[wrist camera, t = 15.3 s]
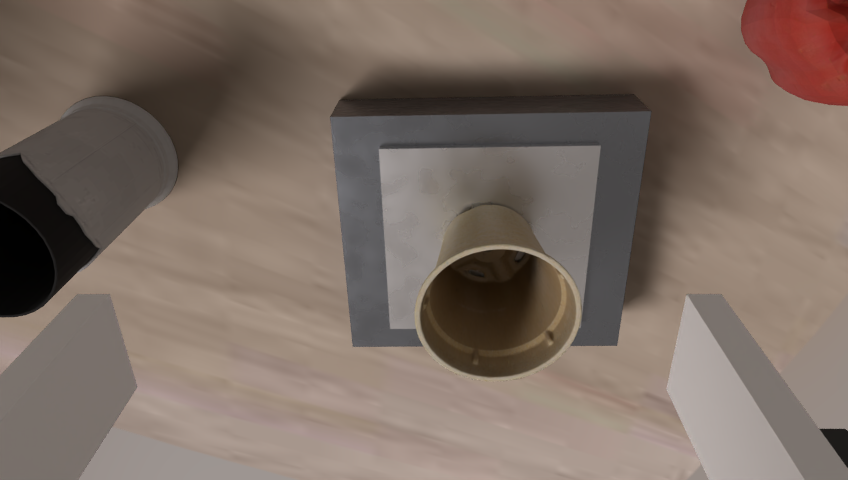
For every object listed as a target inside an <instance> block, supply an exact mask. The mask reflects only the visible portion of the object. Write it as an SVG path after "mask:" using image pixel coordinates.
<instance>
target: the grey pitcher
mask: <svg viewBox="0 0 848 480" xmlns="http://www.w3.org/2000/svg"><path fill="white" fill-rule="evenodd" d="M177 173H178V159H177V154H176V150H175V147H174V145H173V143H172V140H171V138H170V137H169V135H168V133H167V132H166V130H165V129H164V128H163V126H162V125H161V124H160V123H159V122H158V121H157V120H156V119H155V118H154V117H153V116H152V115H151V114H150V113H148V112H147V111H145V110H144V109H142V108H141V107H139V106H138V105H135V104H133V103H131V102H129V101H126V100H123V99H120V98H116V97H109V96H95V97H91V98H86V99H83V100H81V101H79V102H77V103H75V104H74V105H73V106H71V107H70V108H69V109H68V110H67V111H66V112H65V113H64V114H63V116H62V117H61V119H60V120H59V121H57V122H55V123H54V124H52V125H50V126H48V127H46V128H44V129H43V130H41V131H39V132H37V133H35V134H33V135H32V136H30V137H28V138H26V139H24V140H23V141H21V142H19V143H17V144H15V145H13V146H12V147H10V148H8V149H6V150H4V151H3V152H1V153H0V317H18V316H23V315H27V314H29V313H32V312H35V311H36V310H38V309H40V308H41V307H43V306H44V305H45V304H46V303H47V302H48V301H49V300H50V299H51V298H52V297H53V296H54V295H55V294H56V293H57V292H58V291H59V290H60V289H61V288H62V287H63V286H64V285H65V284H66V283H67V282H68V281H69V280H70V279H71V278H72V277H73V276H74V275H75V274H76V273H77V272H80V271H82V270H83V269H85V268H86V267H88V266H89V265H90V264H91V263H92V262H93V261H94V260H95V259H96V258H97V257H98V256H99V255H100V254H101V253H102V252H103V251H104V250H105V249H106V248H107V247H108V246H109V245H110V244H111V243H112V242H113V241H114V240H115V239H116V238H117V237H118V236H119V235H120V234H121V233H122V232H123V231H124V230H125V229H126V228H127V227H128V226H129V225H130V224H131V223H132V222H133V221H134V219H135V218H136V217H137V216H138V215H139V214H140V213H141V212H142V211H143V210H144V209H147V208H150V207H152V206H155V205H156V204H158V203H159V202H161V201H162V200H164V199H165V198H166V197H167V196H168V194H169V193H170V192H171V190H172V189H173V187H174V185H175V182H176V179H177Z"/></svg>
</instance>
